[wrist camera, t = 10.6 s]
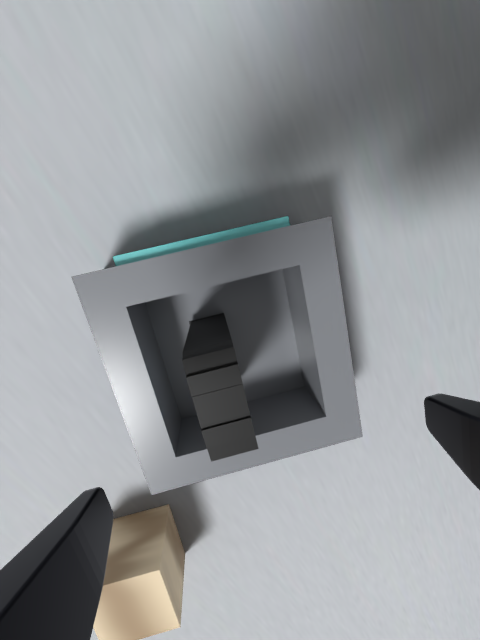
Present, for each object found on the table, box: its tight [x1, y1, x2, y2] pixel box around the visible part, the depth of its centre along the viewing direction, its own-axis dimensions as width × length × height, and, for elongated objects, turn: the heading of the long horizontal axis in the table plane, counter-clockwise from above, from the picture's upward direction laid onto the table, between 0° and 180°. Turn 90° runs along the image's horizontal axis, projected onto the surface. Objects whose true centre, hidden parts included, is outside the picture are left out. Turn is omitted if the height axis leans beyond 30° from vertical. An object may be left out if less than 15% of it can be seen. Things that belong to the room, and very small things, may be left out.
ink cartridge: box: [182, 313, 259, 462], centre depth 16 cm, size 5×2×8 cm, turn 12°
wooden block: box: [93, 504, 185, 640], centre depth 21 cm, size 5×5×5 cm
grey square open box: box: [72, 216, 363, 495], centre depth 18 cm, size 13×14×4 cm
